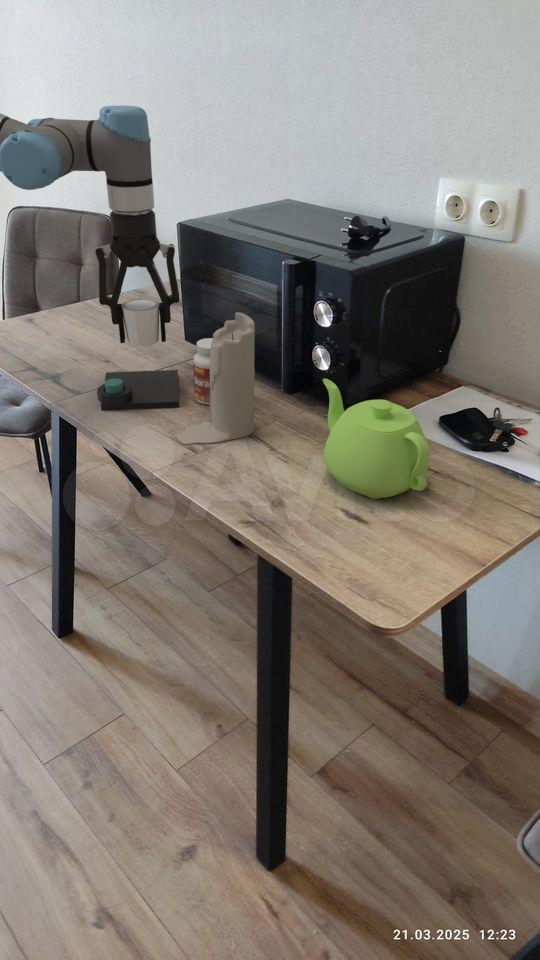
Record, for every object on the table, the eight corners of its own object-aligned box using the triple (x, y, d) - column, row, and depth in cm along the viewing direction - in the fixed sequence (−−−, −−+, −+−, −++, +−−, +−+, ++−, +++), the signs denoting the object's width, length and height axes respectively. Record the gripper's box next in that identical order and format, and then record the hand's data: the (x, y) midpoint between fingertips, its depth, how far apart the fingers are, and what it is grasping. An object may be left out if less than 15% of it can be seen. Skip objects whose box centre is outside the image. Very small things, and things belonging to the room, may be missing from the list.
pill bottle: (189, 403, 130) (187, 347, 124) (200, 389, 135) (198, 334, 129) (221, 408, 129) (220, 351, 122) (231, 393, 134) (231, 338, 127)
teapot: (286, 461, 113) (288, 387, 106) (352, 433, 121) (358, 363, 114) (387, 526, 99) (398, 445, 92) (454, 489, 107) (469, 413, 100)
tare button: (105, 394, 126) (104, 386, 125) (106, 387, 129) (105, 378, 128) (123, 394, 127) (122, 385, 126) (124, 386, 129) (123, 377, 128)
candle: (170, 430, 121) (162, 319, 110) (243, 416, 126) (243, 307, 115) (184, 450, 116) (177, 334, 105) (260, 434, 121) (262, 322, 110)
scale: (97, 412, 126) (95, 397, 125) (103, 377, 138) (102, 363, 137) (179, 408, 128) (178, 393, 126) (178, 375, 140) (177, 361, 138)
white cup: (131, 332, 134) (127, 296, 130) (166, 335, 133) (163, 299, 129) (119, 346, 128) (115, 309, 124) (156, 349, 128) (153, 311, 124)
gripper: (190, 204, 122) (195, 330, 135) (74, 205, 120) (91, 333, 133) (191, 214, 116) (197, 345, 129) (69, 216, 114) (87, 349, 126)
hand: (143, 339), depth 130 cm, fingers closed on white cup, 7 cm apart
